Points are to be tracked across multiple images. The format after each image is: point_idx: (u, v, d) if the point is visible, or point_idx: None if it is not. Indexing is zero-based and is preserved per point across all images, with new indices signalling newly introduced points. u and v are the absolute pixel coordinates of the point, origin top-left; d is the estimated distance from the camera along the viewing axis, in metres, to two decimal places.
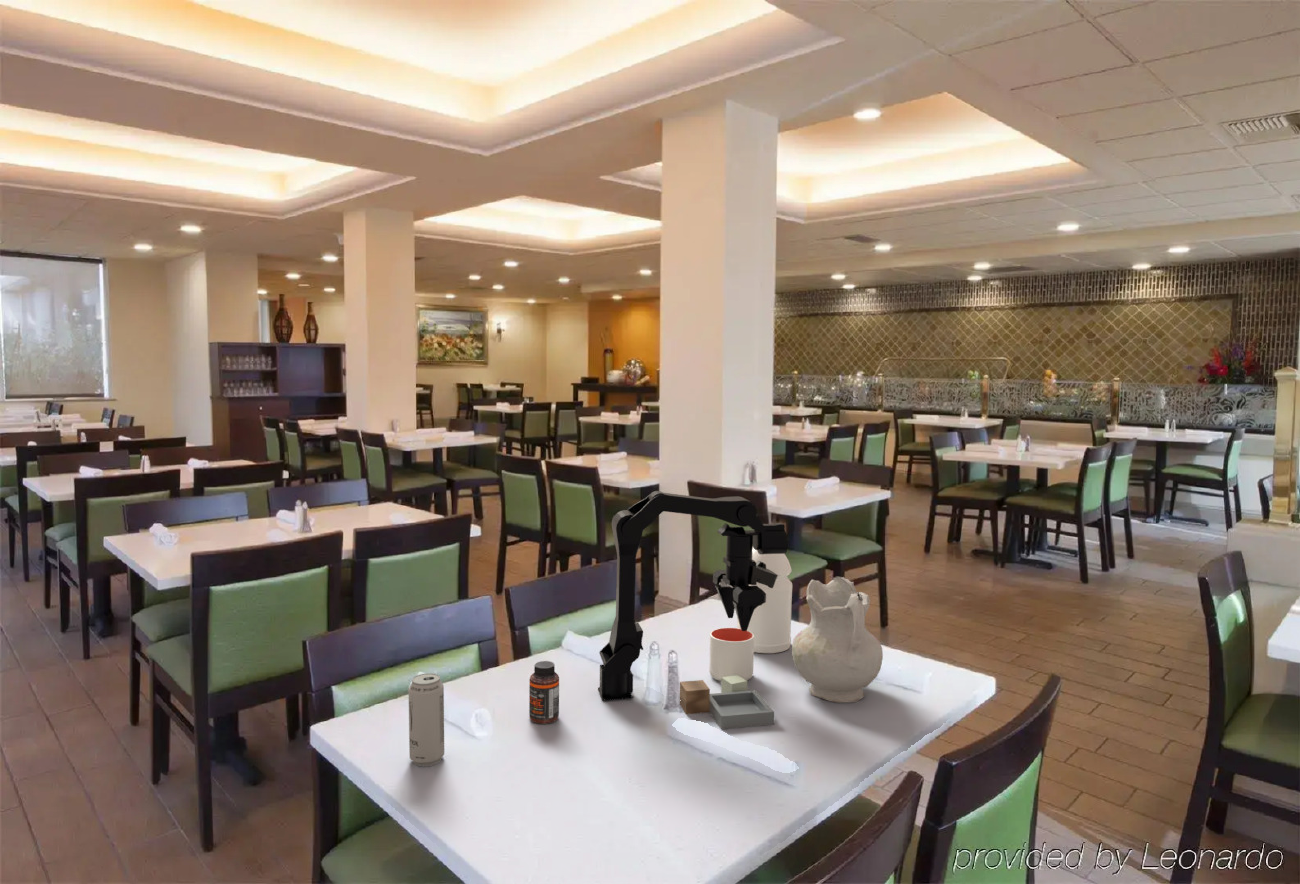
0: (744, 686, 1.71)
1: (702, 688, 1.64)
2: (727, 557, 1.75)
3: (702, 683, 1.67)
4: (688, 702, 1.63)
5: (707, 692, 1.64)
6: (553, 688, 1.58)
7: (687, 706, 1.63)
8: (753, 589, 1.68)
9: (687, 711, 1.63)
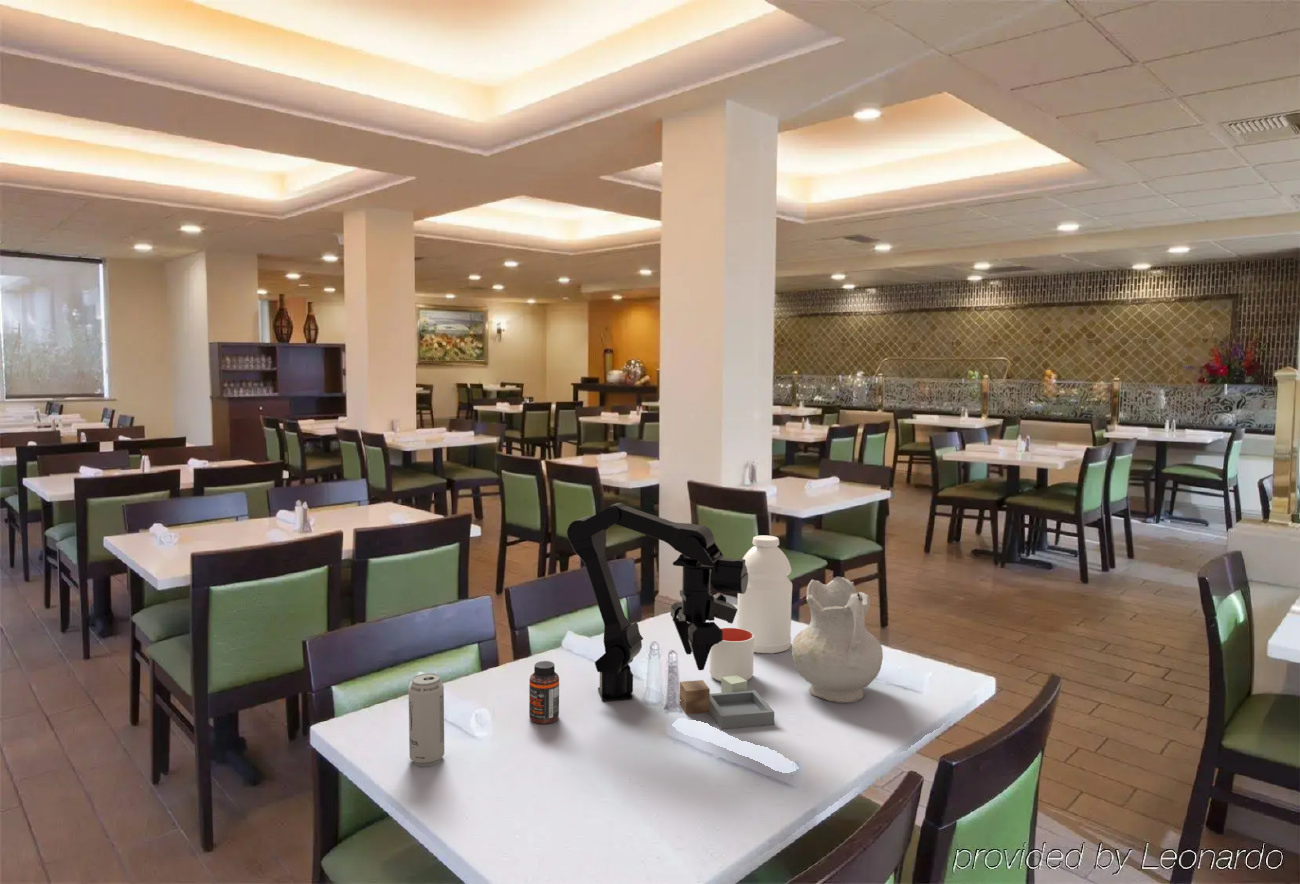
0: (744, 686, 1.71)
1: (702, 688, 1.64)
2: (683, 591, 1.63)
3: (702, 683, 1.67)
4: (688, 702, 1.63)
5: (707, 692, 1.64)
6: (553, 688, 1.58)
7: (687, 706, 1.63)
8: (709, 627, 1.56)
9: (687, 711, 1.63)
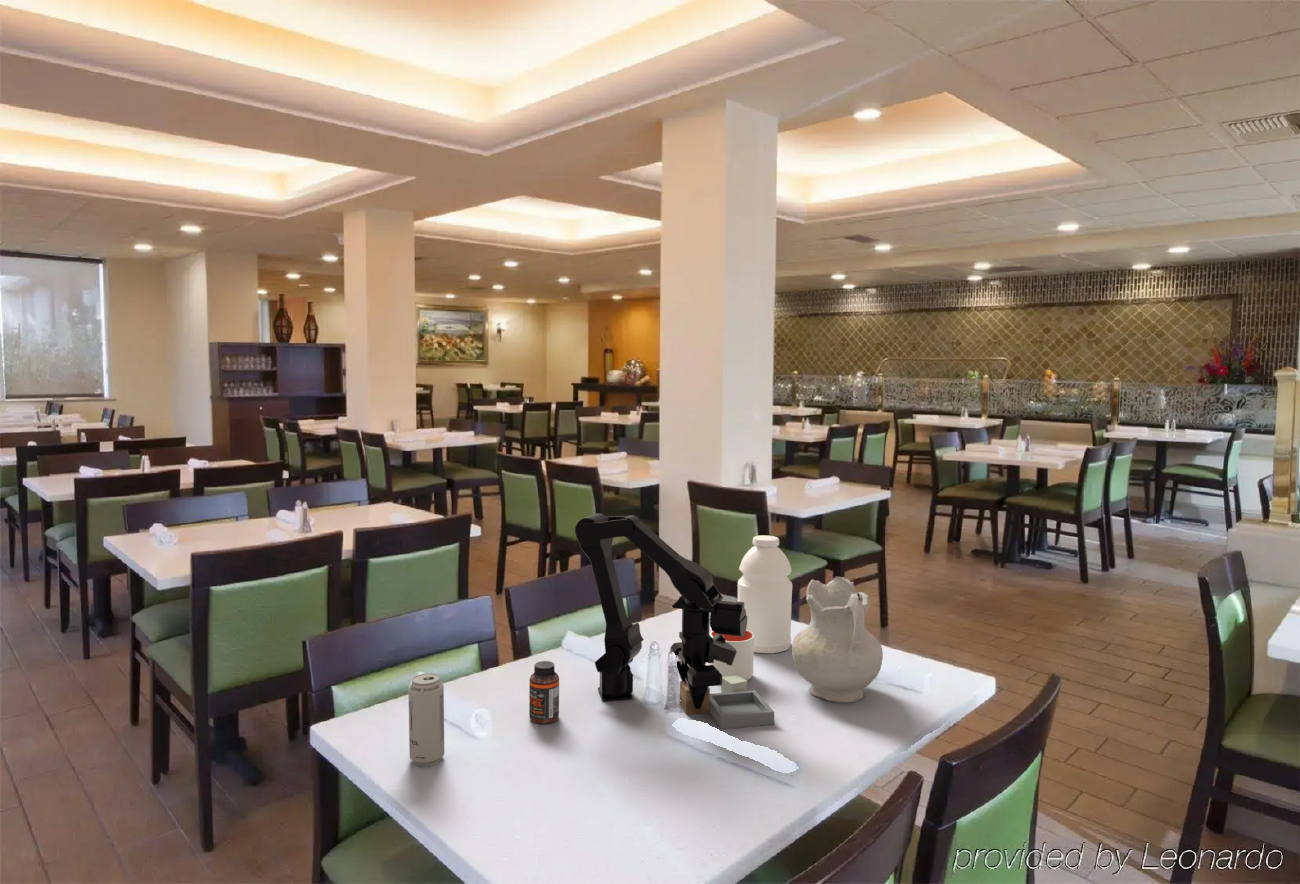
0: (744, 686, 1.71)
1: None
2: (682, 633, 1.64)
3: None
4: (688, 701, 1.63)
5: (707, 691, 1.64)
6: (553, 688, 1.58)
7: (687, 705, 1.63)
8: (709, 671, 1.57)
9: (687, 710, 1.63)
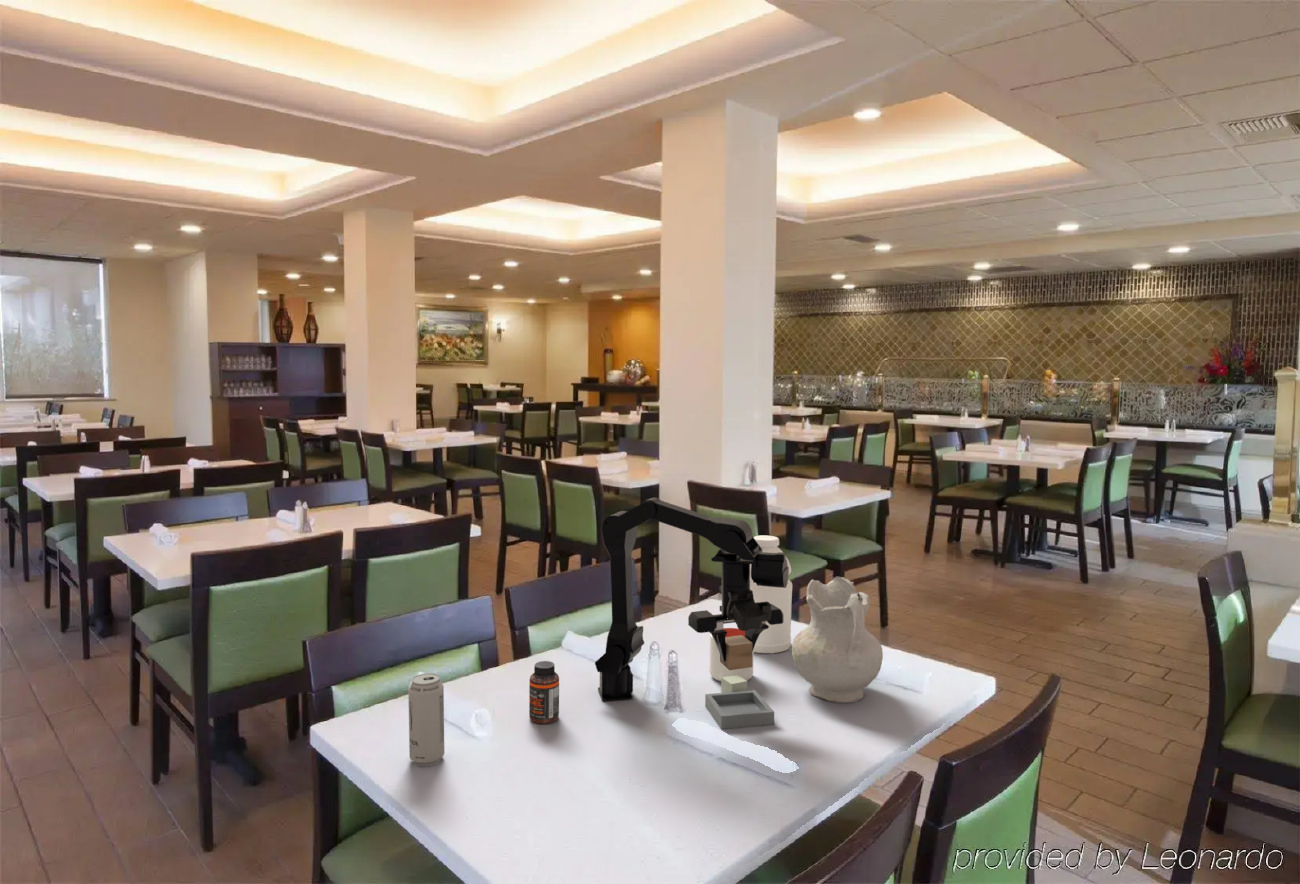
0: (744, 686, 1.71)
1: (729, 643, 1.60)
2: None
3: (743, 643, 1.60)
4: None
5: (728, 648, 1.59)
6: (553, 688, 1.58)
7: None
8: (697, 615, 1.59)
9: (720, 658, 1.64)
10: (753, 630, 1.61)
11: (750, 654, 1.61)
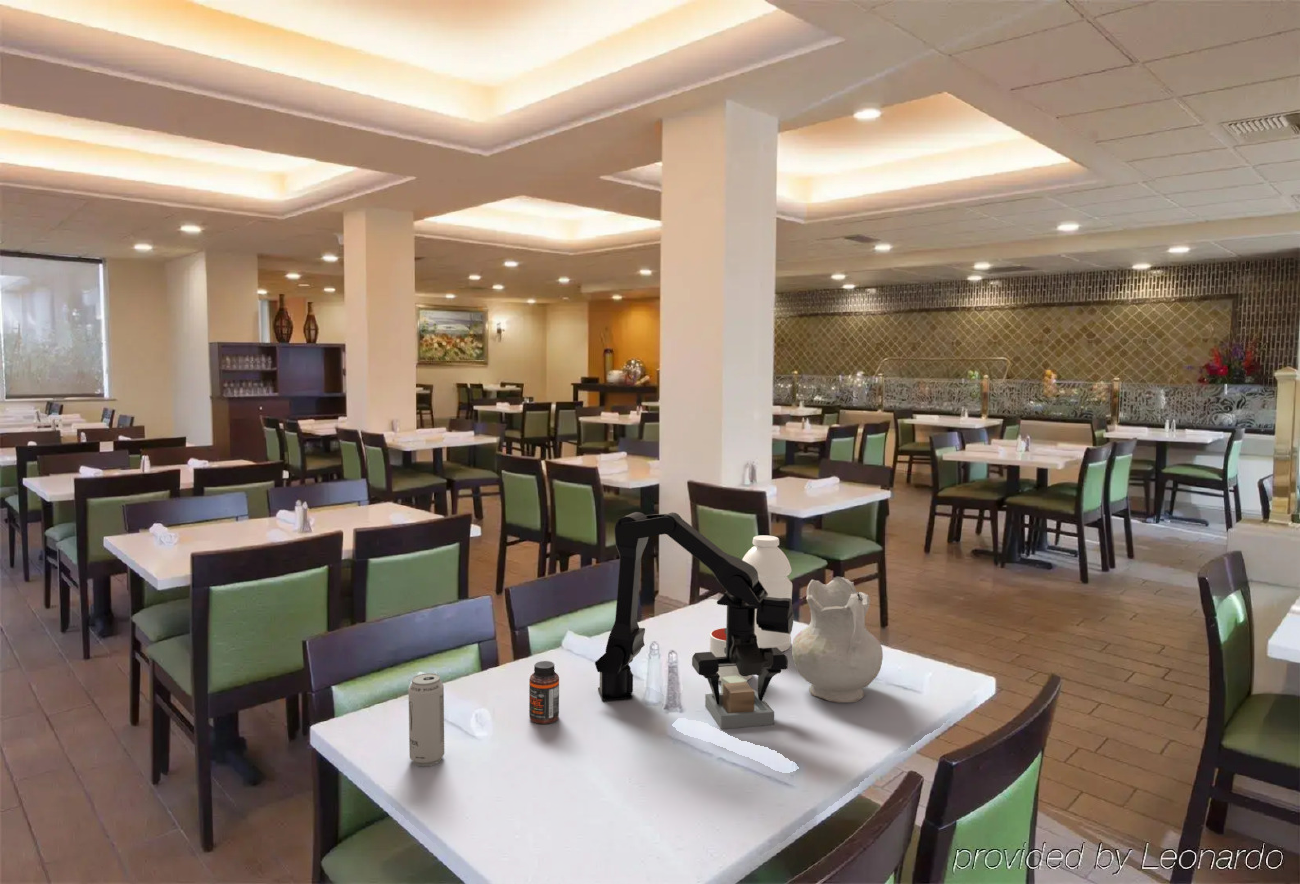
0: None
1: (731, 690, 1.61)
2: None
3: (745, 690, 1.61)
4: (723, 695, 1.64)
5: (730, 695, 1.60)
6: (553, 688, 1.58)
7: (723, 699, 1.65)
8: (699, 657, 1.60)
9: (723, 704, 1.65)
10: (765, 673, 1.62)
11: (752, 702, 1.61)
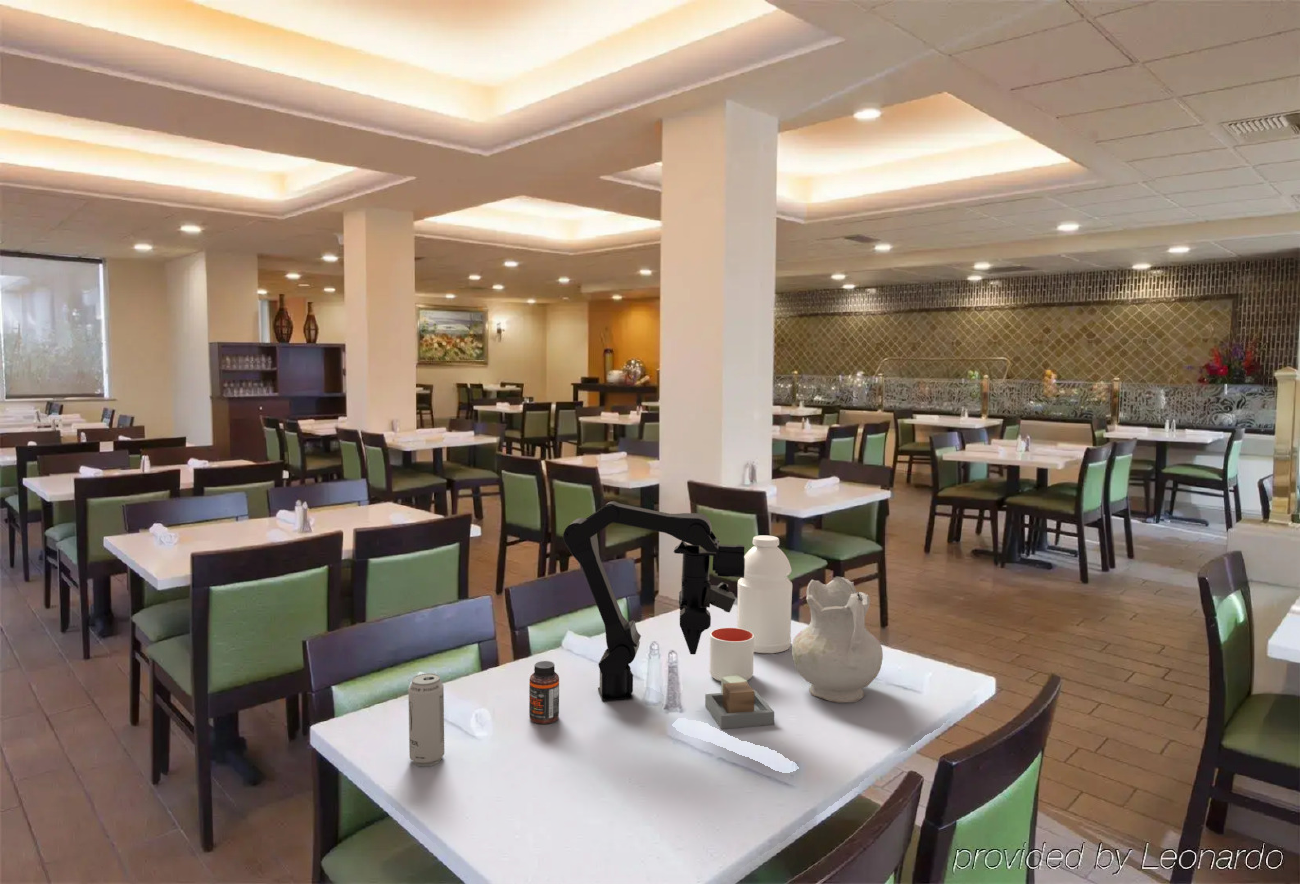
0: None
1: (731, 690, 1.61)
2: (682, 576, 1.68)
3: (745, 690, 1.61)
4: (723, 695, 1.64)
5: (730, 695, 1.60)
6: (553, 688, 1.58)
7: (723, 699, 1.65)
8: (697, 612, 1.60)
9: (723, 704, 1.65)
10: None
11: (752, 702, 1.61)
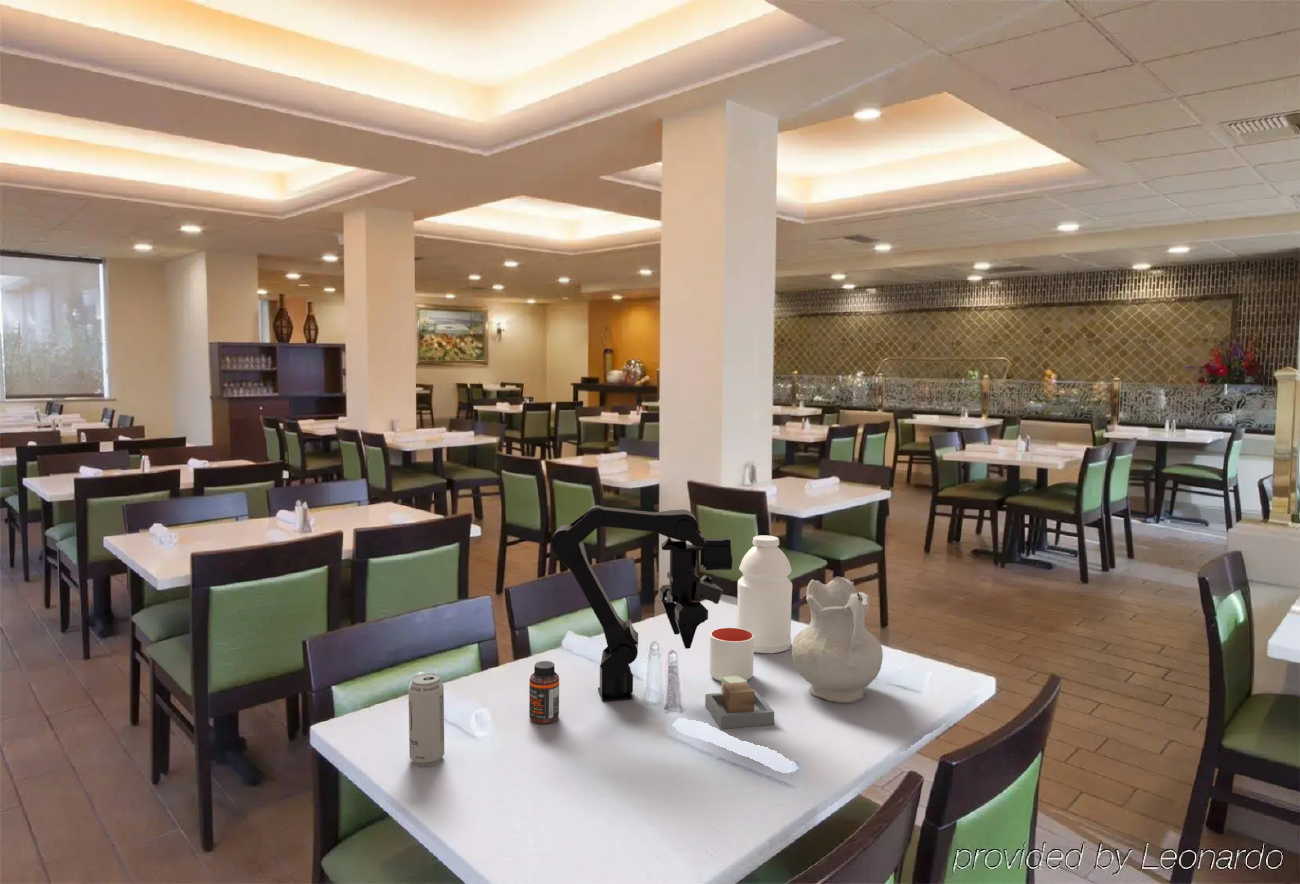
0: None
1: (731, 690, 1.61)
2: (670, 572, 1.70)
3: (745, 690, 1.61)
4: (723, 695, 1.64)
5: (730, 695, 1.60)
6: (553, 688, 1.58)
7: (723, 699, 1.65)
8: (695, 606, 1.63)
9: (723, 704, 1.65)
10: None
11: (752, 702, 1.61)
